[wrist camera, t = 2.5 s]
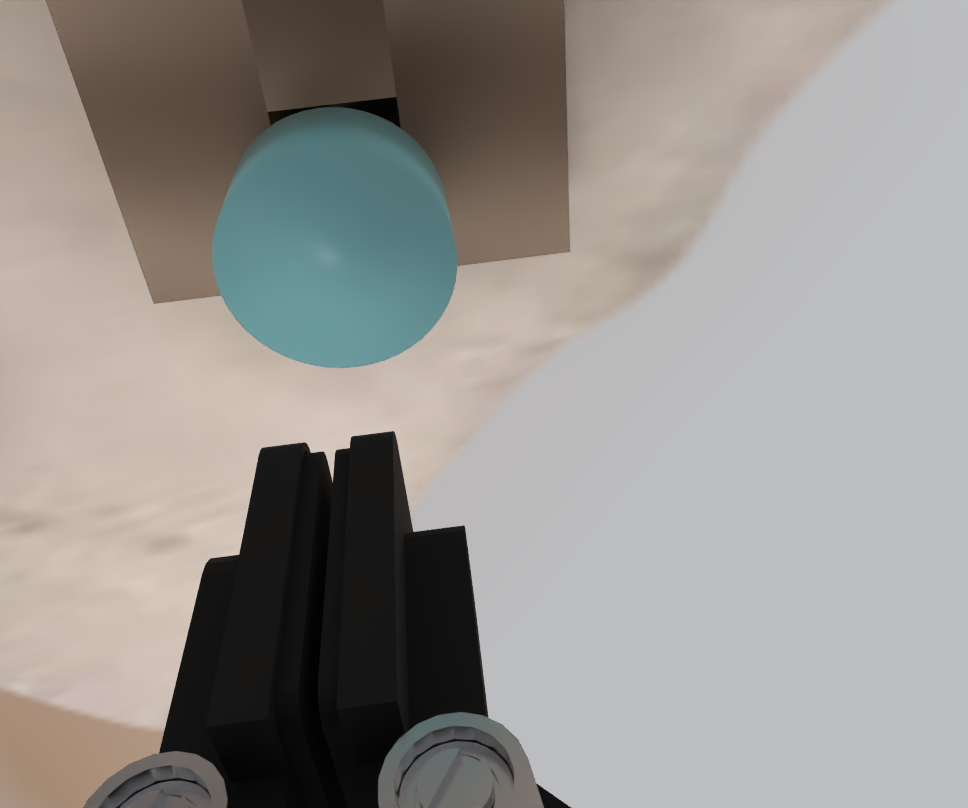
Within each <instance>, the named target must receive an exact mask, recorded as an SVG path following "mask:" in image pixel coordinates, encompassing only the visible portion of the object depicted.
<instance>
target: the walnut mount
mask: <svg viewBox="0 0 968 808" xmlns="http://www.w3.org/2000/svg"><path fill="white" fill-rule="evenodd" d="M46 2H47V5H48V8H49V11H50V13H51V16H52V19H53V22H54V25H55V27H56V30H57V33H58V36H59V39H60V42H61V44H62V47H63V50H64V53H65V56H66V58H67V61H68V64H69V67H70V70H71V72H72V75H73V78H74V81H75V84H76V86H77V89H78V92H79V95H80V98H81V101H82V103H83V106H84V109H85V112H86V115H87V117H88V120H89V123H90V126H91V129H92V131H93V134H94V137H95V140H96V143H97V145H98V148H99V151H100V154H101V157H102V160H103V162H104V165H105V168H106V171H107V174H108V176H109V179H110V182H111V185H112V188H113V190H114V193H115V196H116V199H117V202H118V205H119V207H120V210H121V213H122V216H123V219H124V221H125V224H126V227H127V230H128V233H129V235H130V238H131V241H132V244H133V247H134V249H135V252H136V255H137V258H138V261H139V264H140V266H141V269H142V272H143V275H144V278H145V280H146V283H147V286H148V289H149V292H150V294H151V297H152V300H153V303H154V304H156V303H164V302H172V301H180V300H188V299H196V298H204V297H212V296H220V295H221V293H220V291H219V288H218V285H217V283H216V279H215V274H214V270H213V262H212V243H213V235H214V231H215V227H216V223H217V220H218V217H219V214H220V211H221V209H222V206H223V203H224V200H225V197H226V195H227V192H228V189H229V186H230V183H231V181H232V178H233V175H234V173H235V170H236V168H237V165H238V163H239V161H240V159H241V158H242V156H243V154H244V152H245V151H246V149H247V148H248V147H249V146H250V144H251V143H252V142H253V141H254V140H255V139H256V138H257V137H258V136H259V135H260V134H261V133H262V132H263V131H264V130H266V129H267V128H269V127H270V126H271V125H273V124H274V123H276V122H277V121H279V120H281V119H283V118H286V117H288V116H290V115H292V113H291V109H297V108H305V107H314V106H323V105H331V104H340V103H348V102H357V101H366V100H374V99H383V98H391V97H396V98H397V105H398V112H399V119H400V126H401V129H402V130H404V131H405V132H406V133H407V134H409V135H410V136H411V137H412V138H413V139H414V140H415V141H417V143H418V144H419V145H420V146H421V147H422V148H423V149H424V151H425V152H426V153H427V154H428V156H429V157H430V159H431V160H432V162H433V163H434V165H435V167H436V169H437V171H438V173H439V175H440V177H441V181H442V184H443V187H444V190H445V194H446V199H447V204H448V210H449V215H450V220H451V225H452V230H453V235H454V240H455V246H456V251H457V266H460V265H468V264H476V263H484V262H492V261H500V260H508V259H516V258H524V257H532V256H540V255H548V254H556V253H564V252H570V234H569V191H568V149H567V106H566V63H565V21H564V0H46Z"/></svg>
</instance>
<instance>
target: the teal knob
mask: <svg viewBox="0 0 968 808" xmlns="http://www.w3.org/2000/svg"><path fill="white" fill-rule="evenodd" d="M212 262H213V270H214V274H215V279H216V283H217V285H218V288H219V291H220V293H221V296H222V298H223V299H224V301H225V303H226V305H227V307H228V309H229V310H230V311H231V313H232V314H233V316H234V317H235V318H236V320H237V321H238V322H239V323H240V324H241V325H242V326H243V327H244V328H245V330H246V331H247V332H249V333H250V334H251V335H252V336H253V337H254V338H256V339H257V340H258V341H259V342H261V343H262V344H264V345H265V346H267V347H268V348H270V349H271V350H273V351H275V352H277V353H279V354H281V355H283V356H285V357H288V358H291V359H293V360H296V361H299V362H303V363H307V364H310V365H315V366H322V367H332V368H348V367H359V366H364V365H370V364H374V363H377V362H380V361H384V360H387V359H389V358H391V357H393V356H396V355H398V354H400V353H402V352H403V351H405V350H407V349H408V348H410V347H412V346H413V345H414V344H416V343H417V342H418V341H419V340H421V339H422V338H423V337H424V336H425V335H426V334H427V333H428V332H429V331H430V330H431V329H432V328H433V327H434V325H435V324H436V323H437V321H438V320H439V319H440V317H441V316H442V314H443V312H444V311H445V309H446V307H447V305H448V303H449V300H450V298H451V295H452V293H453V289H454V285H455V281H456V272H457V251H456V246H455V240H454V235H453V230H452V225H451V220H450V215H449V210H448V204H447V199H446V194H445V190H444V187H443V184H442V181H441V177H440V175H439V173H438V171H437V169H436V167H435V165H434V163H433V162H432V160H431V159H430V157H429V156H428V154H427V153H426V152H425V151H424V149H423V148H422V147H421V146H420V145H419V144H418V143H417V141H415V140H414V139H413V138H412V137H411V136H410V135H409V134H407V133H406V132H405V131H404V130H402V129H401V128H399V127H398V126H396V125H395V124H393V123H391V122H389V121H387V120H385V119H383V118H381V117H379V116H376V115H374V114H371V113H368V112H365V111H361V110H356V109H351V108H341V107H324V108H315V109H310V110H304V111H301V112H298V113H295V114H292V115H290V116H288V117H286V118H283V119H281V120H279V121H277V122H276V123H274V124H273V125H271V126H270V127H269V128H267V129H266V130H264V131H263V132H262V133H261V134H260V135H259V136H258V137H257V138H256V139H255V140H254V141H253V142H252V143H251V144H250V146H249V147H248V148H247V149H246V151H245V152H244V154H243V156H242V158H241V159H240V161H239V163H238V165H237V168H236V170H235V173H234V175H233V178H232V181H231V183H230V186H229V189H228V192H227V195H226V197H225V200H224V203H223V206H222V209H221V211H220V214H219V217H218V220H217V223H216V227H215V231H214V235H213V243H212Z"/></svg>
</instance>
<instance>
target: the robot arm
mask: <svg viewBox="0 0 968 808" xmlns="http://www.w3.org/2000/svg"><path fill="white" fill-rule="evenodd" d="M471 578H472V577H471V570H470V563H469V555H468V547H467V540H466V532H465V526H458V527H450V528H442V529H434V530H427V531H419V532H413V528H412V523H411V517H410V511H409V506H408V500H407V495H406V489H405V484H404V478H403V473H402V467H401V461H400V456H399V450H398V445H397V440H396V435H395V432H394V431H392V432H384V433H376V434H368V435H360V436H352V437H351V442H350V448H348V449H340V450H336V453H335V463H334V476H333V482H332V478H331V474H330V470H329V466H328V462H327V458H326V455H325V453H324V452H316V453H310V449H309V447H308V445H307V444H306V443H297V444H289V445H281V446H273V447H265V448H262V449H261V450H260V453H259V457H258V462H257V468H256V473H255V478H254V483H253V488H252V493H251V498H250V503H249V508H248V513H247V518H246V524H245V529H244V534H243V539H242V544H241V549H240V554H239V555H234V556H227V557H219V558H211V559H210V560H209V561H208V562H207V563H206V565H205V568H204V571H203V573H202V577H201V581H200V586H199V590H198V594H197V598H196V602H195V606H194V610H193V615H192V619H191V623H190V627H189V631H188V635H187V640H186V644H185V648H184V652H183V656H182V660H181V664H180V669H179V673H178V677H177V681H176V685H175V689H174V694H173V698H172V702H171V706H170V710H169V714H168V718H167V723H166V727H165V731H164V736H163V739H162V743H161V748H160V752H159V754H153V755H151V756H148V757H145V758H143V759H140V760H138V761H135V762H133V763H131V764H129V765H127V766H126V767H124V768H123V769H121V770H120V771H119V772H117V773H116V774H114V775H113V776H111V777H110V778H108V779H107V780H106V781H105V782H104V783H103V784H102V785H101V786H100V787H99V788H98V789H97V790H96V792H95V793H94V794H93V795H92V796H91V797H90V798H89V799H88V800H87V802H86V804H85V805H84V807H83V808H571V807H569V806H568V805H566V804H565V803H563V802H562V801H561V800H559V799H558V798H556V797H555V796H553V795H552V794H551V793H549V792H548V791H546V790H545V789H543V788H542V787H541V786H539V785H538V784H536V782H535V778H534V775H533V772H532V769H531V766H530V764H529V760H528V758H527V756H526V754H525V752H524V750H523V748H522V746H521V744H520V743H519V740H518V739H517V738H516V737H515V736H514V735H513V734H512V733H511V732H510V731H509V730H508V729H506V728H505V727H504V726H503V725H502V724H500V723H498V722H496V721H493V720H491V719H489V718H488V711H487V703H486V694H485V686H484V677H483V669H482V660H481V652H480V644H479V635H478V626H477V618H476V610H475V601H474V593H473V586H472V579H471Z"/></svg>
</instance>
